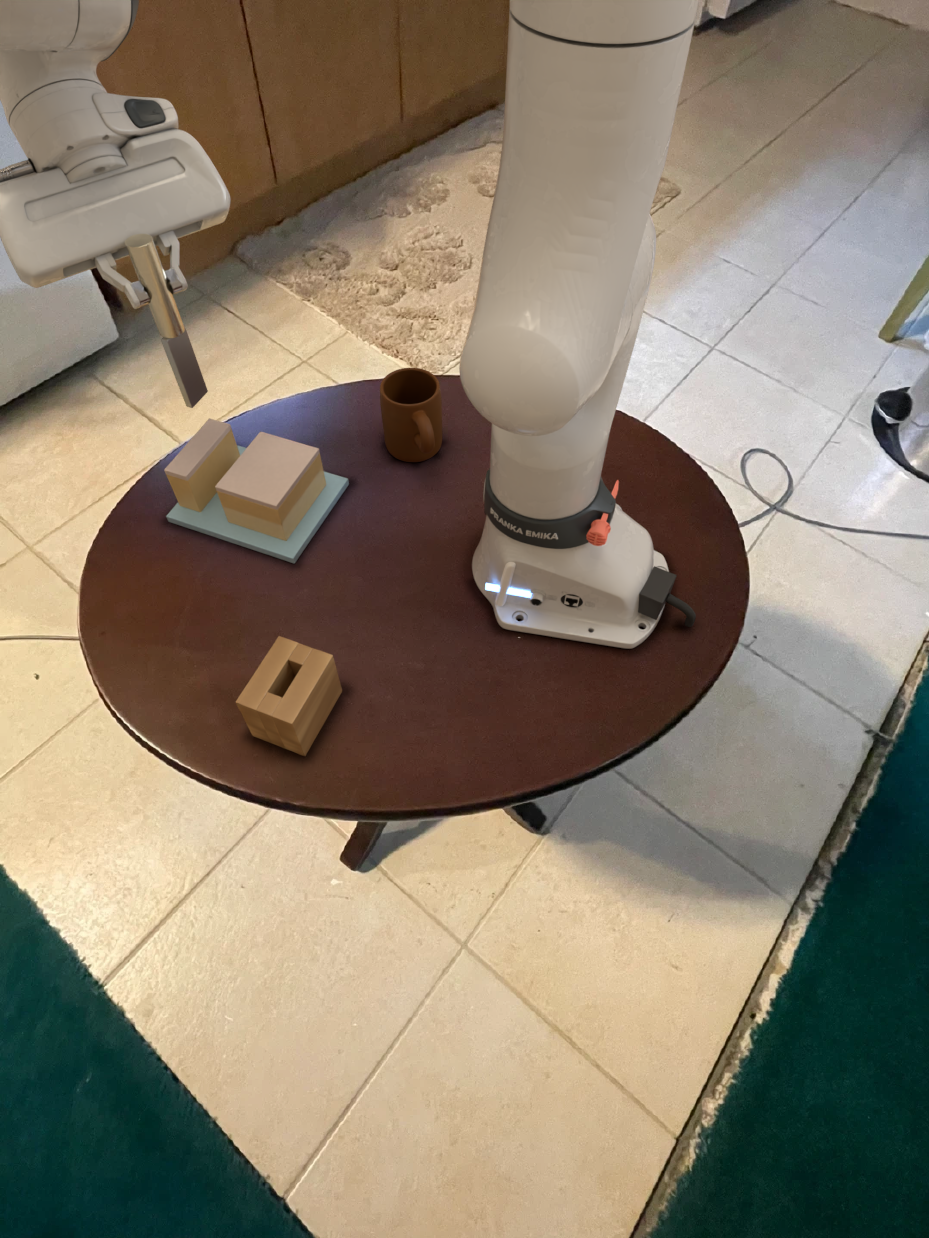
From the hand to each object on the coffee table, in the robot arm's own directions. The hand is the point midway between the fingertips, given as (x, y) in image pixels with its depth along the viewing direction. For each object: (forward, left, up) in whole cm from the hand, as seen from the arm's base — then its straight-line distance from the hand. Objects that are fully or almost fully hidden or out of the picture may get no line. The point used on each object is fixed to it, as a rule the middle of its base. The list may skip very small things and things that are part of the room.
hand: (161, 297), depth 71 cm
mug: (-17, -17, -28) cm, 37 cm away
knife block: (-21, +22, -28) cm, 42 cm away
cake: (-3, -2, -28) cm, 28 cm away
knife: (0, 0, -12) cm, 12 cm away
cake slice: (+4, -2, -27) cm, 28 cm away
